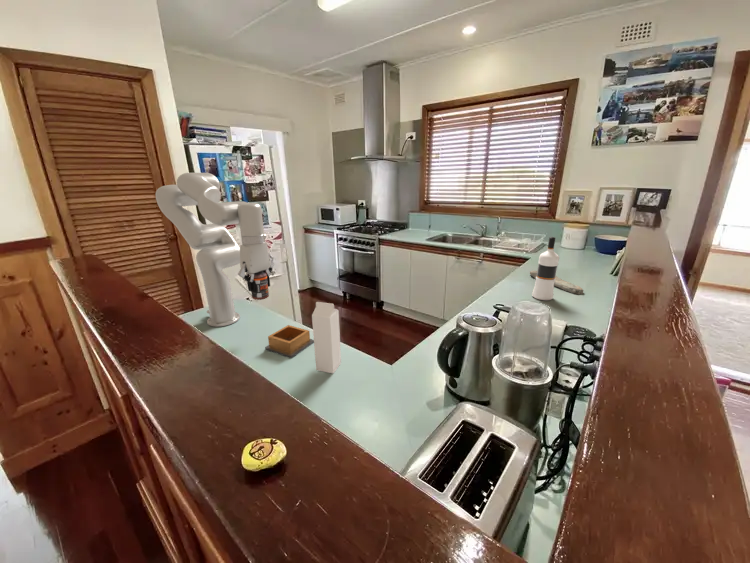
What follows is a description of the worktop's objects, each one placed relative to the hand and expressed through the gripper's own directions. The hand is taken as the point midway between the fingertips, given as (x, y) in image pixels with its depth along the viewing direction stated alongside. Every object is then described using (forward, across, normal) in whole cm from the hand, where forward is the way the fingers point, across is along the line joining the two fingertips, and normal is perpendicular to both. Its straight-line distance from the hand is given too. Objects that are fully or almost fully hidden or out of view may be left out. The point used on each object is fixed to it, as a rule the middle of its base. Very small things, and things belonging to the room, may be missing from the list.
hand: (259, 288), depth 114 cm
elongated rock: (+18, -117, +98) cm, 154 cm away
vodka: (+18, -91, +92) cm, 131 cm away
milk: (+19, +6, +34) cm, 40 cm away
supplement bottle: (+4, 0, 0) cm, 4 cm away
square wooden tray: (+19, +2, +14) cm, 24 cm away
